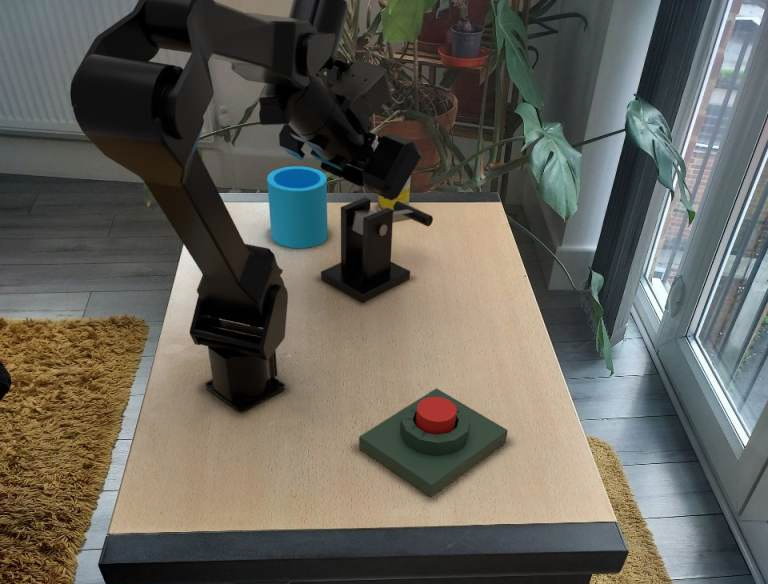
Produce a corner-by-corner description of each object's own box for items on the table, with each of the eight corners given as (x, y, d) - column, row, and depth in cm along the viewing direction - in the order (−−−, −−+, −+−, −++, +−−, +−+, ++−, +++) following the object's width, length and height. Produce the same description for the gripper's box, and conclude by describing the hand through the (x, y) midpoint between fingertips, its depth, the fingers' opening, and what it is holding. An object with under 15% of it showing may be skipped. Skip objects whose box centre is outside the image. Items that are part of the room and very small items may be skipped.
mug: (331, 246, 112) (330, 189, 106) (274, 250, 111) (270, 192, 105) (320, 209, 120) (318, 154, 114) (266, 211, 119) (262, 156, 113)
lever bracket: (368, 257, 110) (369, 188, 103) (410, 279, 106) (414, 208, 99) (320, 279, 105) (318, 208, 98) (362, 303, 102) (364, 230, 95)
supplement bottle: (373, 205, 122) (374, 149, 116) (401, 201, 123) (404, 145, 117) (384, 218, 119) (386, 161, 113) (413, 214, 120) (416, 158, 114)
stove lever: (398, 214, 108) (401, 196, 107) (431, 229, 106) (434, 211, 104) (341, 224, 101) (343, 206, 100) (374, 241, 99) (377, 222, 97)
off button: (437, 440, 78) (438, 426, 77) (407, 422, 80) (408, 408, 79) (463, 422, 80) (464, 409, 79) (433, 405, 82) (435, 391, 81)
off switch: (430, 497, 77) (433, 471, 74) (358, 448, 82) (359, 422, 79) (505, 442, 83) (510, 416, 81) (435, 400, 88) (437, 374, 85)
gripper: (415, 62, 79) (472, 148, 93) (292, 21, 88) (361, 105, 102) (358, 162, 81) (422, 232, 94) (243, 112, 89) (317, 183, 103)
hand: (380, 184), depth 98 cm, fingers closed
